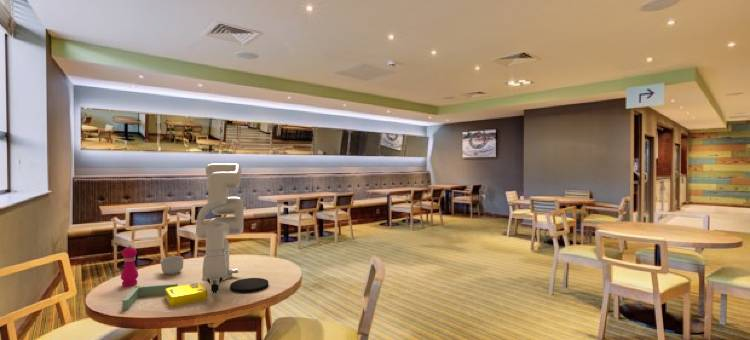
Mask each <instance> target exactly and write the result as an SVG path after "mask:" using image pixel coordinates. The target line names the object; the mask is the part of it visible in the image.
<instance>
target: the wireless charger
mask: <svg viewBox="0 0 750 340" xmlns="http://www.w3.org/2000/svg"><path fill="white" fill-rule="evenodd" d="M267 288H269V280H268V279H266V278H263V277H262V278H261V277H247V278H241V279H238V280H235V281H233V282H231V283H230V284H229V289H230V291H231V292H234V293H236V294H251V293H256V292H257V293H258V292H261V291H263V290H266V289H267Z"/></svg>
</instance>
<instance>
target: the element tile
mask: <svg viewBox="0 0 750 340" xmlns="http://www.w3.org/2000/svg"><path fill="white" fill-rule="evenodd" d="M164 299H165V301H166V302H167V304H168V306H169V307H177V306H182V305H187V304H193V303H197V302H201V301H202V302H203V301H206V300H207V299H208V289H207V288H206V287H205V286H204V285H203V284H202V283H200V282H194V283H187V284H182V285H181V284H180V285H178V286H175V287H170V288H166V289H165V294H164Z"/></svg>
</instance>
